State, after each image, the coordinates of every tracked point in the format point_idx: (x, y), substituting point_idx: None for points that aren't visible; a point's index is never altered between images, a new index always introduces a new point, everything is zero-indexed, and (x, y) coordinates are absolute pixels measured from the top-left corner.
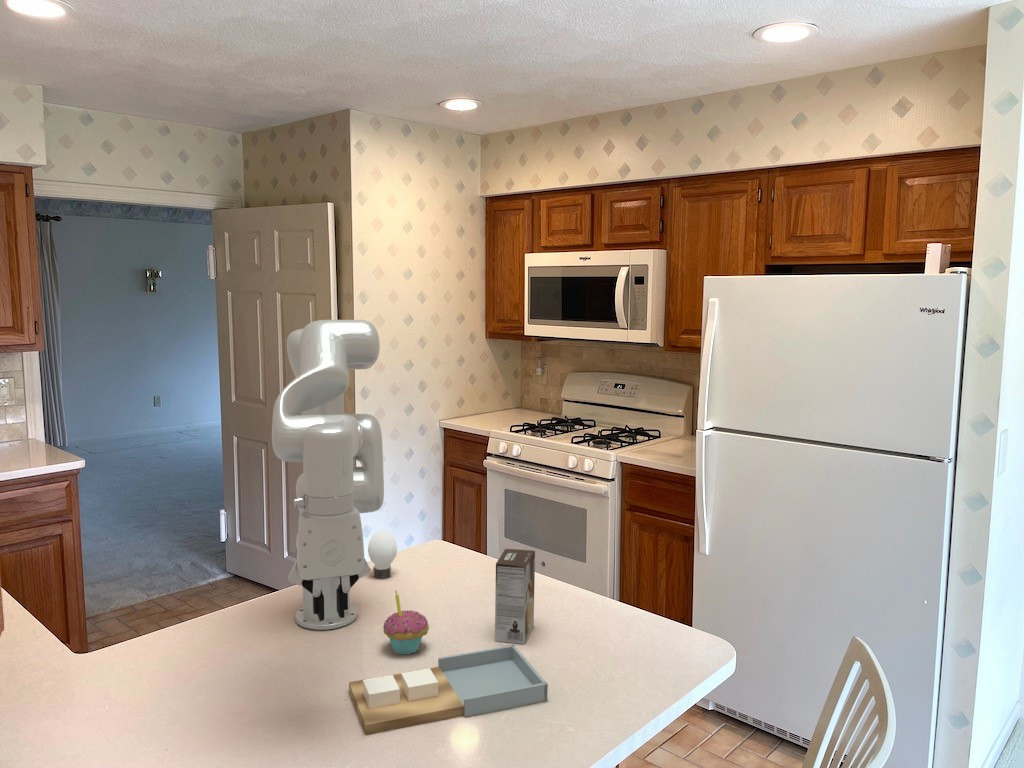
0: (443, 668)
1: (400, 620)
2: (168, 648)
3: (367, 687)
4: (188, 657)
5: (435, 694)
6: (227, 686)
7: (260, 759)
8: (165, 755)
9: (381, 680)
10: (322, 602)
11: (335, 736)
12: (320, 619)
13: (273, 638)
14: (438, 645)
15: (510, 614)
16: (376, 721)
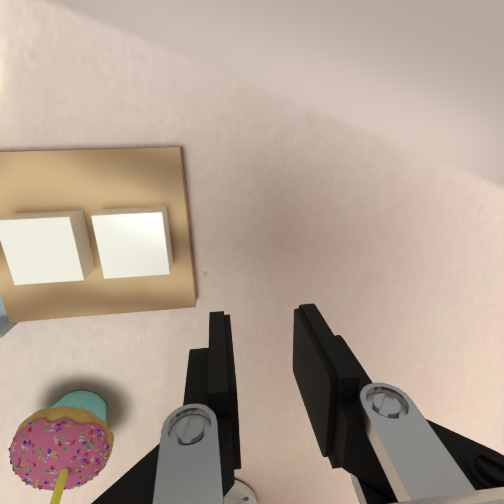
0: (3, 320)
1: (65, 454)
2: None
3: (162, 241)
4: None
5: (18, 214)
6: (374, 353)
7: (364, 131)
8: (485, 192)
9: (130, 261)
10: (330, 354)
11: (235, 160)
12: (312, 305)
13: (293, 464)
14: (18, 409)
15: None
16: (156, 153)
